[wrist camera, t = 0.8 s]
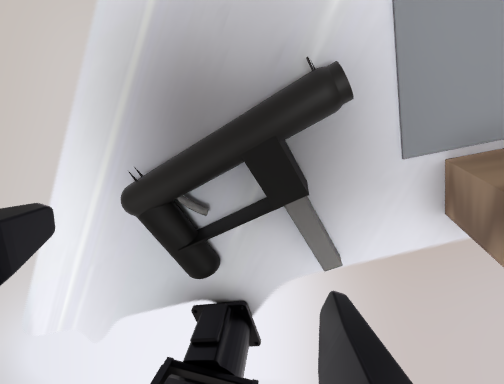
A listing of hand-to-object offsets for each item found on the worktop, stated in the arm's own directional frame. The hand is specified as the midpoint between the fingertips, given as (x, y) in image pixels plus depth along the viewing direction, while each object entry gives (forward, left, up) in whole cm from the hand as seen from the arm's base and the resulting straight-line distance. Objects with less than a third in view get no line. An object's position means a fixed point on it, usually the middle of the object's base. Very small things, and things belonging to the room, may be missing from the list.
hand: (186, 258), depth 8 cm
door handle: (-5, +1, -14) cm, 15 cm away
